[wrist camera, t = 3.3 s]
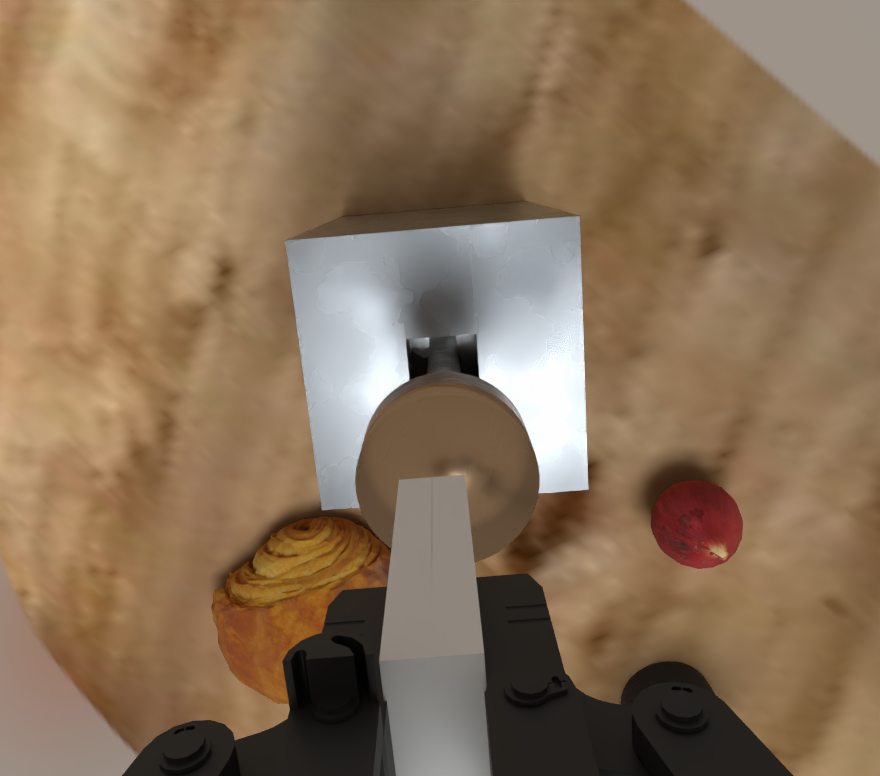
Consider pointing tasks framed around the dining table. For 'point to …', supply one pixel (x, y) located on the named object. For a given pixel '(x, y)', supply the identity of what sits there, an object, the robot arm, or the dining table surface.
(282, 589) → the croissant
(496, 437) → the plunger
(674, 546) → the onion
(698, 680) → the travel mug
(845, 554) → the dining table surface
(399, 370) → the grey peg holder block
